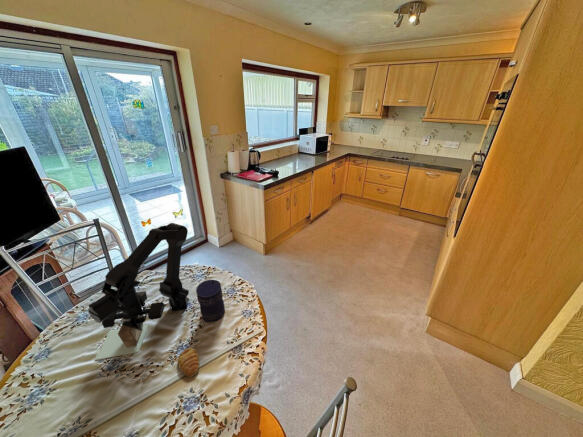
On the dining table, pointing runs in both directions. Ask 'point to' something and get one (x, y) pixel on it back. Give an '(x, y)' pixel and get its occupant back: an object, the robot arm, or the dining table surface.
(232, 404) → the dining table surface
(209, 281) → the storage jar
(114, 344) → the mat
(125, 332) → the wooden block
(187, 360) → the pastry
